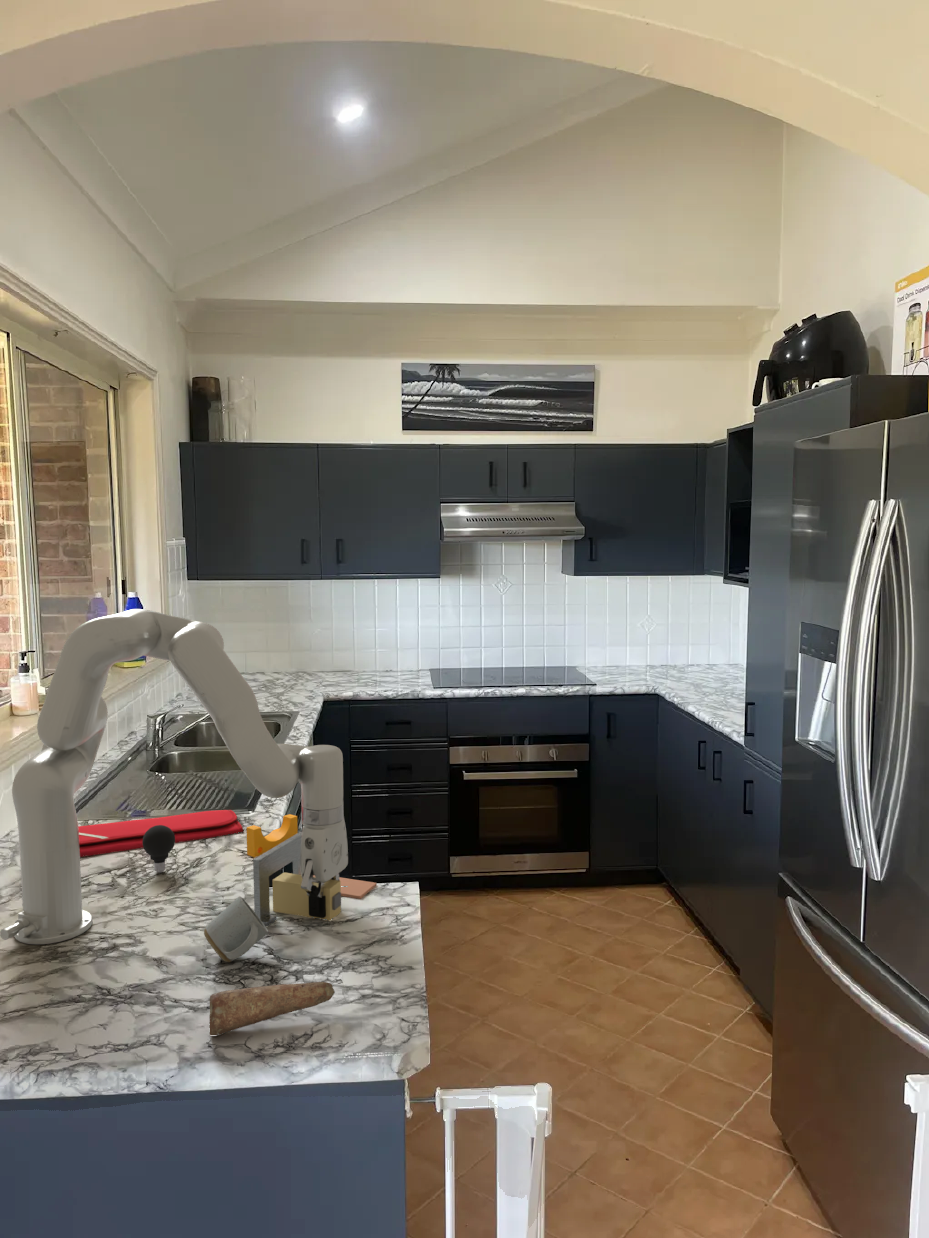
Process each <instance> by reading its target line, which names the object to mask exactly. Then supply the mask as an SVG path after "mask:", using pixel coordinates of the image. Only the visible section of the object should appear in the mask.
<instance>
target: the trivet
mask: <svg viewBox="0 0 929 1238" xmlns="http://www.w3.org/2000/svg"><path fill="white" fill-rule="evenodd" d="M313 877H315V875H313ZM339 878H340V881H341V886H348V887H341V897H347V898H351V899H356V900H361V899H363V897H364V896H366V895H367V894H368V893H369V892H370V891H372V890H373V889H374V888H376V886H375V885H377V882H373V881H366V880H362V879H361V880H359V879H353V878H349V877H348V878H346V877H340V876H339Z"/></svg>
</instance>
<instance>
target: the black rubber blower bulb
mask: <svg viewBox="0 0 929 1238" xmlns="http://www.w3.org/2000/svg"><path fill="white" fill-rule="evenodd" d="M142 843H143V848H142V849H143V850H144V851H145V853H146V854H147V855H149V857H150V860H152V861H153V863H154V864H153V866H154V872H156V873H159V874H161V873H162V872H165V871H166V859H168V858H169V853H171V852H172V850H173V848H175V844H176V843H175V835H174V833H173V831H172V830H171V829H170V828H169V827H167V826H164V825H156V826H153V827H151V828H150V829H149V830H147V832H146V833H145V835H144V837H143V841H142Z"/></svg>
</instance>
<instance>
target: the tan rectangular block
mask: <svg viewBox="0 0 929 1238" xmlns="http://www.w3.org/2000/svg"><path fill="white" fill-rule="evenodd" d="M313 878H316V877H313ZM302 880H303V879H302V877H301V875H298V874H293V872H291V873H290V872H282V873H280V874H279V875H278V876H276V877H275V878H273V879H272V912H274V913H280V914H287V915H294V916H298V917H299V916H300V917H304V918H305V917H306V918H310V917H313V916H310V915H309V896H308V895H307V892H306V891H305V890H303V889H301V883H302ZM318 884H319V883H315V882H313V885H315V886H316V887H317V888H318ZM323 896H326V916H325V917H324V918H321V919H327V920H331V919H332V918H333V919H334V917H335V918H336V917H337V916H338V915H339V914H340V912H341V913H342V896H341V881H338V880H331V879H330V880H328V881H327V882H325V883H324V893H323ZM315 918H319V917H314V918H313V919H315ZM321 919H320V920H321ZM333 919H332V920H333ZM327 920H326V921H327ZM332 920H331V921H332Z"/></svg>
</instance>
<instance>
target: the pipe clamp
mask: <svg viewBox="0 0 929 1238" xmlns="http://www.w3.org/2000/svg"><path fill="white" fill-rule="evenodd" d="M245 828H246V855H247V856H249V857H251V858H253V859H255V858H257V857H258V856H260V855H262V854H263V853H265V852H267V851H269V850H270V849H272V848H274V847H275V846H277V845H279V844H280V843H282V842H284V841H285V840H287V839H289V838H290V837H292V836H294V835H295V834H297V833H299V831H298V830H299V828H298V815H295V814H291V813H289V814H286V815H283V816H282V822H281V826H280V827H279V828H276V829H273V830H272V831H271V832H269V833H268V834H267V835H265V836H264V834H263V831H262V827H260V826H257V825H254V824H253V825H250V826H247V827H245Z"/></svg>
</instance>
